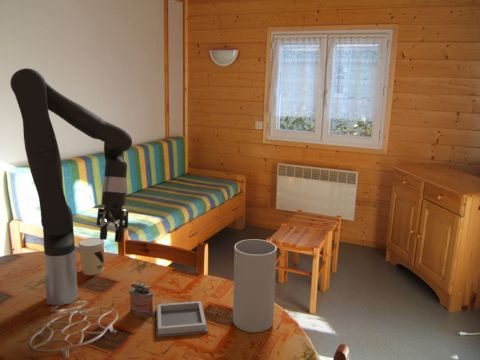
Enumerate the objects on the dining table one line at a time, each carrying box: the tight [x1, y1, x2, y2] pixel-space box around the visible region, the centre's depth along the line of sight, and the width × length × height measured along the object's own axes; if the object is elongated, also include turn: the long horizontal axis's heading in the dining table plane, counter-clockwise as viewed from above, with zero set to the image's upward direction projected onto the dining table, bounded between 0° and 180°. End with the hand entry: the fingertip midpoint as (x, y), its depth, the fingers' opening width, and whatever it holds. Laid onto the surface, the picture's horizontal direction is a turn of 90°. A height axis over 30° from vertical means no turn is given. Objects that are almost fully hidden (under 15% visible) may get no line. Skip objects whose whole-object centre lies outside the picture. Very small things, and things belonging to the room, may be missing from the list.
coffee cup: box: [78, 237, 105, 276], centre depth 167 cm, size 9×9×12 cm
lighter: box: [129, 282, 154, 318], centre depth 139 cm, size 8×3×10 cm, turn 71°
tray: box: [155, 300, 209, 338], centre depth 135 cm, size 15×15×2 cm
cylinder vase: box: [232, 238, 277, 333], centre depth 133 cm, size 12×12×25 cm
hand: (110, 240), depth 143 cm, fingers open, 8 cm apart
